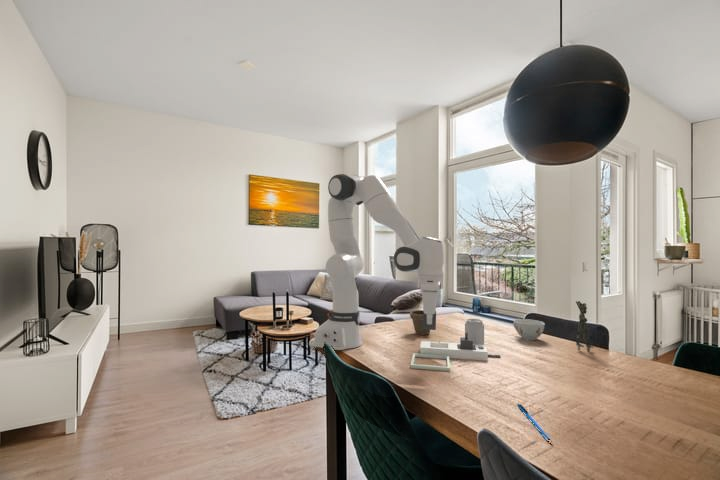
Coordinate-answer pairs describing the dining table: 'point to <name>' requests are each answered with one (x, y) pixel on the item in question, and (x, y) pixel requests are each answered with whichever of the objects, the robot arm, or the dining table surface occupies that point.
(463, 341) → the twin plug
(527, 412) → the pen
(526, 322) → the teacup
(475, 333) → the can
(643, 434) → the dining table surface
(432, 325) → the dark grey block
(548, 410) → the dining table surface
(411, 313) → the flower pot
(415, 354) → the tray
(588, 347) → the statue
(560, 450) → the dining table surface
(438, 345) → the white power strip
